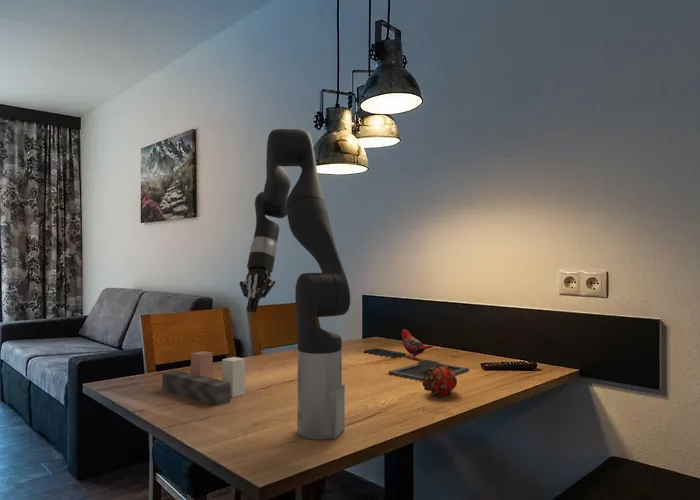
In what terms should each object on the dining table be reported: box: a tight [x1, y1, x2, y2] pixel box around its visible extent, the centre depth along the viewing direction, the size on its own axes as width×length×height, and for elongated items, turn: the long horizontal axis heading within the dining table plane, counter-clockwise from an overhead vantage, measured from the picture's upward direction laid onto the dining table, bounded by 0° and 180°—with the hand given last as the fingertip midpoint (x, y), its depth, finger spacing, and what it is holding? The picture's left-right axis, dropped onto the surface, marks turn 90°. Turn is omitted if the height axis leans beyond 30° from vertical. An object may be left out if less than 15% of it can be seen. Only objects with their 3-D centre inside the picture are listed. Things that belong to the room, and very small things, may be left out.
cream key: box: [221, 356, 246, 398], centre depth 130 cm, size 4×4×9 cm
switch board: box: [161, 369, 231, 407], centre depth 133 cm, size 23×16×6 cm
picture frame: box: [388, 359, 470, 382], centre depth 160 cm, size 16×2×21 cm
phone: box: [363, 347, 407, 359], centre depth 189 cm, size 8×1×15 cm
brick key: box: [190, 350, 214, 378], centre depth 138 cm, size 4×4×9 cm
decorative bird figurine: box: [400, 328, 434, 360], centre depth 179 cm, size 3×18×10 cm, turn 33°
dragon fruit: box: [421, 366, 458, 398], centre depth 135 cm, size 8×8×12 cm
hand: (251, 312), depth 144 cm, fingers closed
